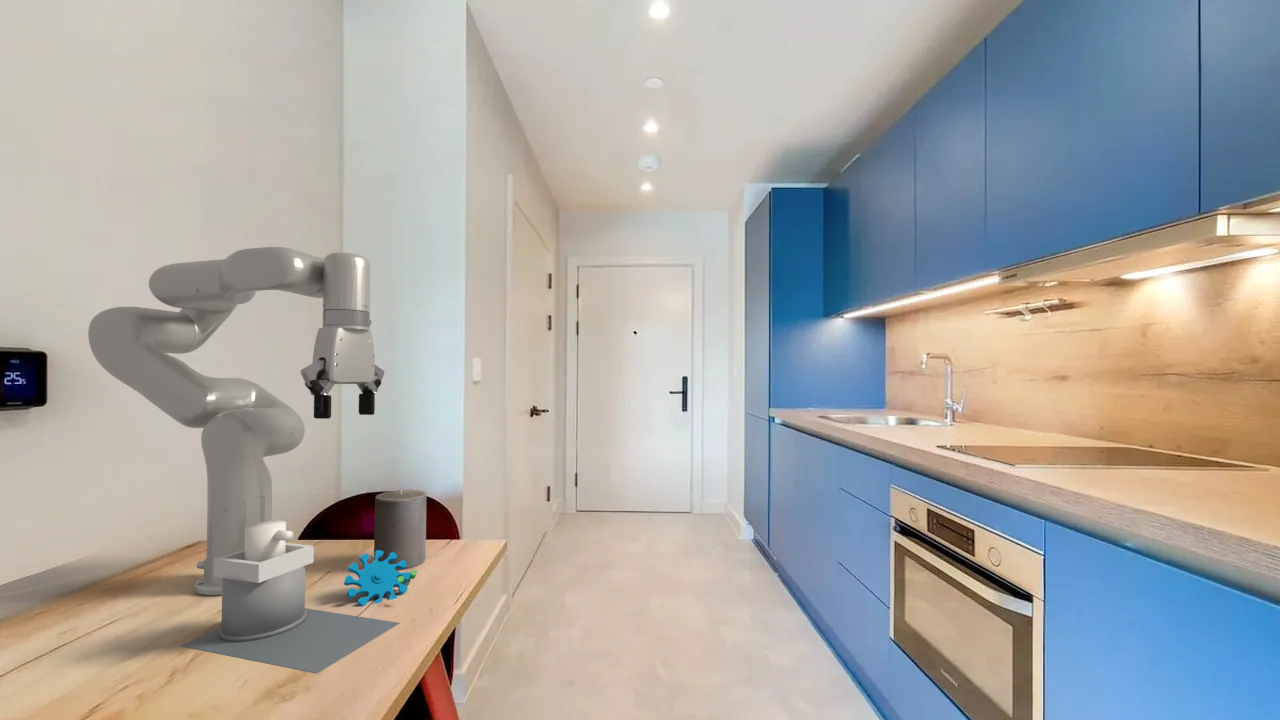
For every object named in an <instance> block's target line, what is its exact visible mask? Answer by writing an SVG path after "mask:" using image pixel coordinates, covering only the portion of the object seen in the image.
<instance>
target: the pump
mask: <svg viewBox="0 0 1280 720" xmlns="http://www.w3.org/2000/svg"><path fill="white" fill-rule="evenodd" d="M293 538H294V532H293V531H292V530H287V521H285V520H276V519H275V520H272V521H264V522H258V523H254V524H250V525H248V526H246V527H245V552H244V560H246V561H254V562H262V561H265V560H268V559H271V558H274V557H277V556H280V555H283V554H286V543H287V542H289V541H291V540H292V539H293Z"/></svg>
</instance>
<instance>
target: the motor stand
mask: <svg viewBox="0 0 1280 720" xmlns="http://www.w3.org/2000/svg"><path fill="white" fill-rule="evenodd" d="M244 552H245V550H242V551H238V552H235V553H232V554H229V555H225V556H222V557H219V558H216V559H214V577H219V578H222V595H221V626H220V627H219V628H218V629H216V630H214V631H211V632H209V633H206V634H204V635H201V636H200V637H197V638H194V639H192V640H189V641H188V642H186V643H183V644H180V645H179V647H183V648H188V649H193V650H198V651H203V652H207V653H211V654H217V655H223V656H227V657H233V658H238V659H243V660H246V661H247V660H248V661H253V662H256V663H257V662H258V663H263V664H267V665H274V666H277V667H284V668H288V669H293V670H299V671H304V672H307V673H313V674H319V673H320V672H323V671H324V670H325V669H327V668H329V667H330V666H332V665H334V664H336V663H337V662H339V661H341V660H343V659H344V658H345V657H347V656H349V655H350V654H352V653H354V652H355V651H357V650H358V649H360V648H362V647H364V646H366V645H367V644H368V643H370V642H372V641H373V640H375V639H377V638H378V637H379V636H382V635H383V634H385V633H386V632H388V631H390V630H392V629H393V628H395V627H396V626H399V625H400V624H401V622H396V621H391V620H383V619H378V618H373V617H372V618H371V617H364V616H358V615H351V614H345V613H338V612H331V611H327V610H326V611H325V610H318V609H312V608H307V607H306V603H305V601H306V598H305V597H306V595H305V593H306V566H308V565H310V564H313V563H314V555H315V554H314V552H315V548H314V545H307V544H300V543H299V544H298V543H290V542H286V554H283V555H280V556H277V557H274V558H271V559H268V560H265V561H262V562H254V561H246V560H244Z"/></svg>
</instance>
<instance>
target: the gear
mask: <svg viewBox="0 0 1280 720" xmlns="http://www.w3.org/2000/svg"><path fill="white" fill-rule="evenodd" d="M383 553H384V552H383V551H381V550H376V552H375V554H374V553H373V555H374V556H373V557H375V560H374V559H373V561H372V562H371V563H368V560H369V558H370V555H369V553H364V554H361V555H360V556H359V561H360V562H361V564H362V566H363V569H362V570H360V569H358V568H359V566H358V563H357V562H355V561H354V562H352V563H351V564H350V565H349V566H348V568H347V570H348V572H349V573H353V574H355V575H356V576H357V577H358V579H354V577H353V576H352V575H350V574H349V575H346V576H345V580H344V582H343V585H344V586H353V585H354V586H357V587H359V588H360V589H356V588H355V587H353V588H349V589H348V591H347V596H348V597H347V598H348V599H353V598H355V597H357V596H358V595H362V594H366V595H367V596H364V597H360V598H359V599H358V601H357V605H358V606H361V607H364V606H366V605H367V604H368V602H369V600H371V599H372V598H374V597H377V599H376V600H374V602H373V605H375V604H379V603H380V604H381V603H383V597H384V596H385V595H387V594H388V595H389V598H388V601H391V600H394V599H398V596H397V595H396V594H395V591H394V588H398V594H399V595H403V594H405V593H406V592H407V591H408V589H409V585H410V583H411V580H414V579H415V578H416V576H417V574H418V570H417V569H412V570H411V571H406V572H400V571H399V570H395V568H399V569H402V570H401V571H403V569H404V570H406V569H405V568H406V566H407V564H406V561H405V560H402V561H400V562H399V563H397V564H389V563H388V562H389V561H395V560H396V558H397V555H396V554H395V553H394V552H391V553H390V555H389V557H388V558H387V559H386V560H384V561H382V562H379V561H378V559H380V558H381V557H382V556H383Z"/></svg>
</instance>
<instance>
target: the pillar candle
mask: <svg viewBox="0 0 1280 720" xmlns="http://www.w3.org/2000/svg"><path fill="white" fill-rule="evenodd" d="M427 494H428V493H427V492H426V491H424V490H421V489H419V490H418V489H402V487H399V490H391V491H386V492H382V493H380V494H379V493H378V494H377V495H375V498H374V527H373V528H374V529H373V530H374V533H373V534H374V543H373V544H374V545H373V555H374V554H375V552H376V550H381V551H383V552H384V553H383V556H382V557H381V558H380V559H378V561H379V562H382V561H384V560H386V559H387V558H388V557H389V555H390V553H391V552H394V553H395V554H396V555H397V558H396V560H395V561H389V562H388V563H389V564H397V563H399V562H400V561H402V560H405V561H406V564H407V566H406V568H405V569H403V570H407V569H408V568H409V569H411V568H416V567H418V566H420V565H421V563H422V564H423V563H424V562H425V559H426V552H427V551H426V550H427V549H426V547H427V546H426V545H427V544H426V543H427V497H428V496H427ZM373 557H374V556H373ZM374 560H375V557H374V558H373V561H374ZM395 570H396V571H403V570H402V569H399V568H395Z"/></svg>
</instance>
